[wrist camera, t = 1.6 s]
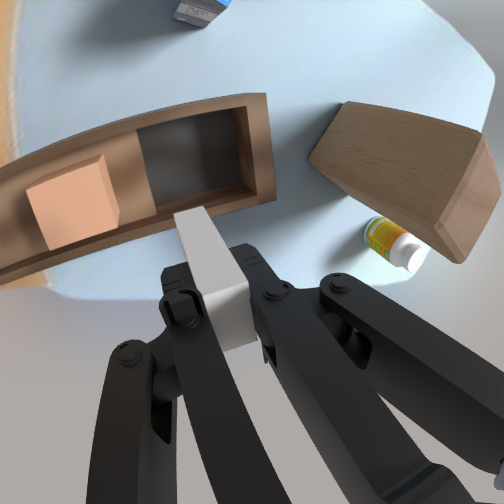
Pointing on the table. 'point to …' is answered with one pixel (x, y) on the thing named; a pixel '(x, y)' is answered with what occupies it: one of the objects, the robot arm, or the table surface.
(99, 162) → the clay block
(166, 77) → the table surface
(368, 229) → the supplement bottle
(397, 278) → the table surface
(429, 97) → the table surface
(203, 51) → the table surface
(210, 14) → the blue retail box
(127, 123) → the channel
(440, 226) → the block
